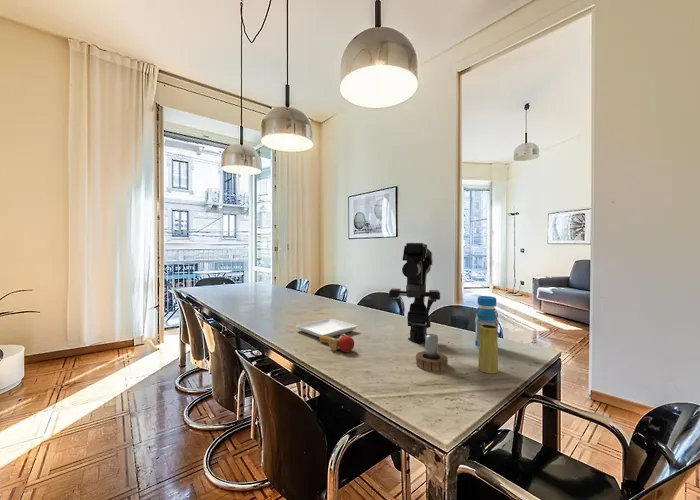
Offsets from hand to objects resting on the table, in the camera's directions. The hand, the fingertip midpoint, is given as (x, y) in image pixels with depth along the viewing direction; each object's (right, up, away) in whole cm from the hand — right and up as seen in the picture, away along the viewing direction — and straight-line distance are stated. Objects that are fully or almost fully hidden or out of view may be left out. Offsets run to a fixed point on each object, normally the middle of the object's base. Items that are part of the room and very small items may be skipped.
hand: (414, 316), depth 116 cm
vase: (+20, -14, -18) cm, 30 cm away
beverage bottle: (+29, -13, +4) cm, 32 cm away
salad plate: (-35, -13, +25) cm, 45 cm away
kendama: (-30, -13, +3) cm, 33 cm away
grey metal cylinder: (+3, -13, -14) cm, 20 cm away
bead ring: (+3, -13, -14) cm, 20 cm away
